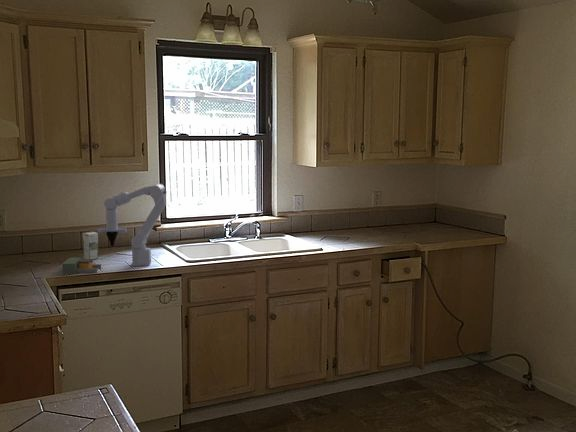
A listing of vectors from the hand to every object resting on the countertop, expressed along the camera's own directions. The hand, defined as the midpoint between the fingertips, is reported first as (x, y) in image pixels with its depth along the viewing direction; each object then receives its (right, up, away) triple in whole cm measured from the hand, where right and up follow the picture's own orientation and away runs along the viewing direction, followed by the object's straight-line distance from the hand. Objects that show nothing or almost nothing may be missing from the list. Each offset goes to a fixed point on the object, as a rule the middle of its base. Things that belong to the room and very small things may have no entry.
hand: (112, 246), depth 320 cm
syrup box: (-15, -8, +12) cm, 21 cm away
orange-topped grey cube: (-9, -11, -13) cm, 20 cm away
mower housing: (-11, -11, -14) cm, 21 cm away
